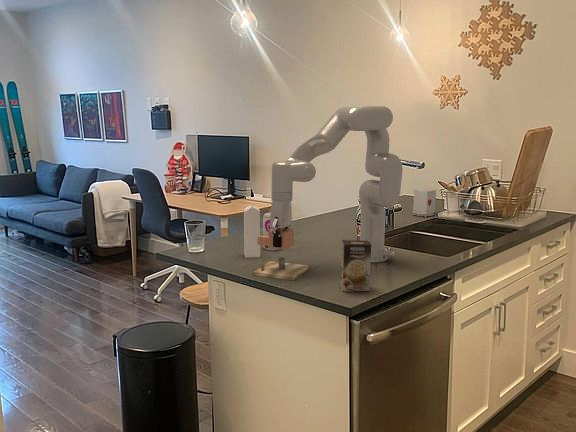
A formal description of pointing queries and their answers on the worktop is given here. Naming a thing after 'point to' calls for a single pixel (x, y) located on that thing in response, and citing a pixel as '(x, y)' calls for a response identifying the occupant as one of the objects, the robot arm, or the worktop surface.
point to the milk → (251, 231)
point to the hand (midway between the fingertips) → (281, 244)
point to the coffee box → (355, 265)
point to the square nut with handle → (286, 239)
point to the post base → (281, 270)
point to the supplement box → (424, 201)
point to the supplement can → (267, 229)
